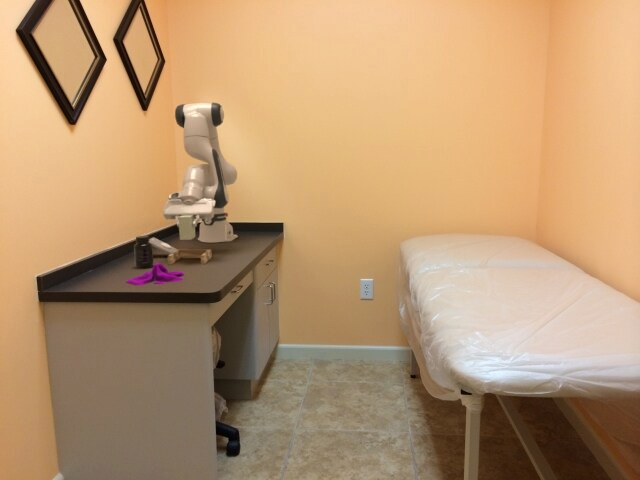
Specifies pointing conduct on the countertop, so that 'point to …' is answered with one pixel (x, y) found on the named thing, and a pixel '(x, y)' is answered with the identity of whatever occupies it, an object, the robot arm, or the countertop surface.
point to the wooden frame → (190, 255)
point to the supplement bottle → (143, 252)
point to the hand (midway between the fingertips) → (186, 226)
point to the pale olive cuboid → (186, 227)
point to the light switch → (162, 246)
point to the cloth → (157, 276)
